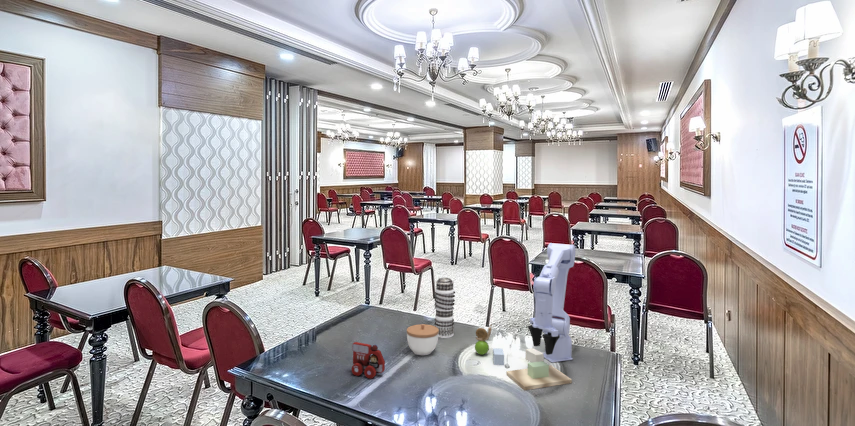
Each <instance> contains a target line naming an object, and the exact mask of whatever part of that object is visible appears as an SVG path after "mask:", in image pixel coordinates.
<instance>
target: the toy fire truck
mask: <svg viewBox="0 0 855 426" xmlns="http://www.w3.org/2000/svg"><path fill="white" fill-rule="evenodd" d="M378 348H379V347H378V345H377V344H373V345H371V344H368V343H363V342H359V341H358V342H357V341H355V342H353V343H352V344H351V350H352V353H353V354H352V366H351V369H350V370H351V373H352V374H353V375H354V376H355V377H356V376H361V375H362V374H363V373H364V376H365V377H366V378H367V379H371V380H372V379H374V377H376V375H377V373H378V374H382V373H383V372H385V370H386V368H385V367H386V366H385V365H386V361H385V359H384V357H383V353H382V352H381V350H379V349H378Z"/></svg>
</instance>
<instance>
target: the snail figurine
mask: <svg viewBox="0 0 855 426" xmlns="http://www.w3.org/2000/svg"><path fill="white" fill-rule="evenodd" d="M492 326H493V324H490V327H488V328H487V330H486V329H485V328H484V327H478V328H477V329H476V330H475V335H476V337H475V340H476V343H475V345H474V350H475V352H476V353H477V354H479V355H480V356H481V355H482V356H483V355H486V354H487V353H488V351H489V349H490V346H489V343H488V342H487V341H488V340H489V339H490V337H491V333H492V330H493V329H492Z"/></svg>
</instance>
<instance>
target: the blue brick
mask: <svg viewBox="0 0 855 426" xmlns="http://www.w3.org/2000/svg"><path fill="white" fill-rule="evenodd" d="M492 360H493V365H495V366H505V353H504V351H503V348H495V347H493V348H492Z"/></svg>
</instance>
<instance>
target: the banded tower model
mask: <svg viewBox="0 0 855 426" xmlns="http://www.w3.org/2000/svg"><path fill="white" fill-rule="evenodd" d="M435 283H436V285H435V286H436V287H435V291H434V299H433V300H434V310H435V318H434V326H435V327H437V328H438V329H439V333H438V338H440V339H449V338H452V337H454V335H455V334H454V333H455V331H454V329H455V327H454V324H455V322H454V321H455V319H454V310H455V307H454V305H455V303H454V302H455V299H454V298H455V297H456V295H455V294H456V291H455V290H454V283H455V282H454V280H452V279H451V278H450V277H439V278H438V279H437V280H436V281H435Z"/></svg>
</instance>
